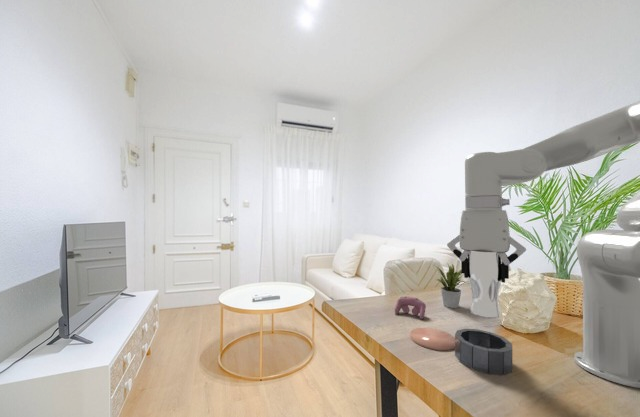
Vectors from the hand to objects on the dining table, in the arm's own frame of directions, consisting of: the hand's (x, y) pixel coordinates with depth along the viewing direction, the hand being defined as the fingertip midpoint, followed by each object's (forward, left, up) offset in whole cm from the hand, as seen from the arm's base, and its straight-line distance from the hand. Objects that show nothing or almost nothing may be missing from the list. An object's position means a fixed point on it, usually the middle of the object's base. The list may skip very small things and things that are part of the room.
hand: (484, 278), depth 63 cm
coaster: (+12, -4, -19) cm, 23 cm away
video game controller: (+23, -18, -20) cm, 36 cm away
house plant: (+12, -37, -20) cm, 44 cm away
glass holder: (0, 0, -19) cm, 19 cm away
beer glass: (0, 0, -9) cm, 9 cm away
